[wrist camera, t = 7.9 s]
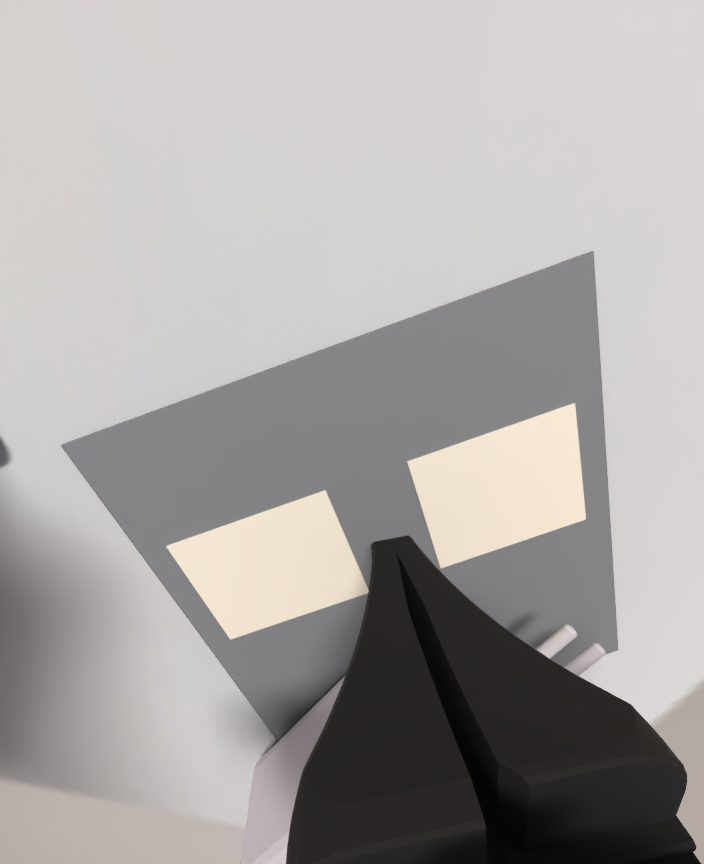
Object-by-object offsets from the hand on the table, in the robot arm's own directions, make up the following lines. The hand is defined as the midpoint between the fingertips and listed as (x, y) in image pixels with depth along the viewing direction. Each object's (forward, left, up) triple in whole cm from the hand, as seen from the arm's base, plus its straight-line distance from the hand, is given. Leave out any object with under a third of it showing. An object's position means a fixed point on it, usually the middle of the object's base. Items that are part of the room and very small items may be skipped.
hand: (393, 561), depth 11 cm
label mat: (+2, 0, -1) cm, 2 cm away
